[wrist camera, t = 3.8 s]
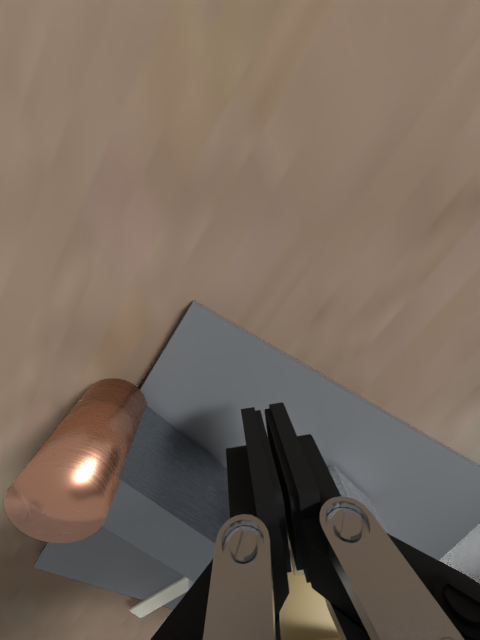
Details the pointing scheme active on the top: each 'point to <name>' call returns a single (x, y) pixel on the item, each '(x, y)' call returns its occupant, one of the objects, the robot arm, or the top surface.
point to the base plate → (227, 431)
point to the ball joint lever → (130, 483)
